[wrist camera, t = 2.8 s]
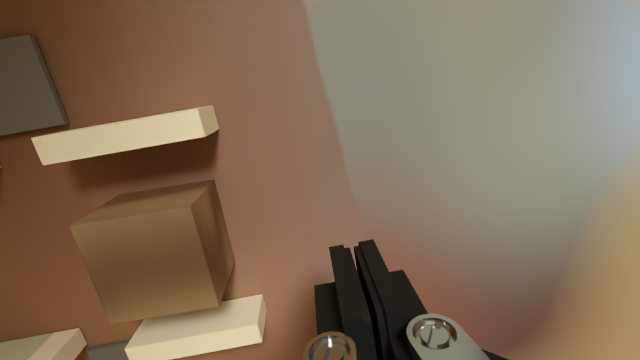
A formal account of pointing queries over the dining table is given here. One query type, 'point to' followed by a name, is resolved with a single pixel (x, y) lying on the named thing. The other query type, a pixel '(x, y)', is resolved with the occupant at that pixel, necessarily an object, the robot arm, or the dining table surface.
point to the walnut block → (157, 251)
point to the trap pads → (35, 117)
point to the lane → (164, 331)
